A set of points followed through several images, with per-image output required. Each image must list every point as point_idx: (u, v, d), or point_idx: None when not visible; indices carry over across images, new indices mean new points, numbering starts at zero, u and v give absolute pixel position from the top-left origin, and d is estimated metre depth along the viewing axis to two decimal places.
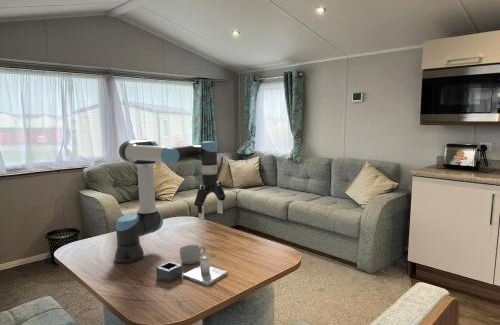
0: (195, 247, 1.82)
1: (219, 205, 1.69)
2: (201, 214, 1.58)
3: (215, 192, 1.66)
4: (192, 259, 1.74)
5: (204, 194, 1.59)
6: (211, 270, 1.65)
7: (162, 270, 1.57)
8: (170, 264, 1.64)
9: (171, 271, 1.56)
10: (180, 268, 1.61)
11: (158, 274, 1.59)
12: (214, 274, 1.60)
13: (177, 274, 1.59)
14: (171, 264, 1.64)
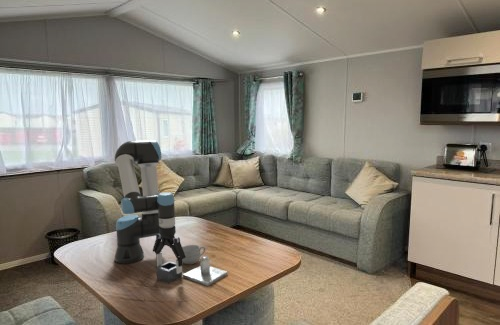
0: (195, 247, 1.82)
1: None
2: None
3: None
4: (192, 259, 1.74)
5: None
6: (211, 270, 1.65)
7: (162, 270, 1.57)
8: (170, 264, 1.64)
9: (171, 271, 1.56)
10: None
11: (158, 274, 1.59)
12: (214, 274, 1.60)
13: (177, 274, 1.59)
14: (171, 264, 1.64)
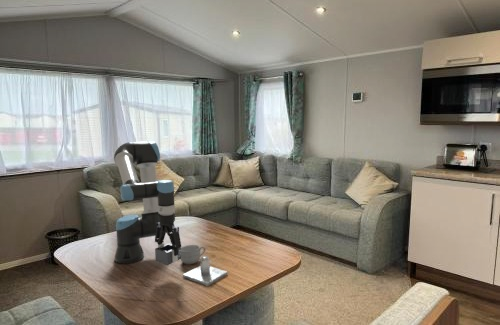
0: (195, 247, 1.82)
1: None
2: None
3: None
4: (192, 259, 1.74)
5: None
6: (211, 270, 1.65)
7: (161, 252, 1.56)
8: (169, 246, 1.63)
9: (170, 253, 1.55)
10: (179, 250, 1.60)
11: (157, 256, 1.58)
12: (214, 274, 1.60)
13: None
14: (170, 246, 1.63)
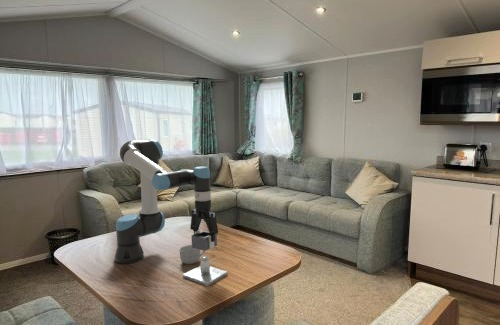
0: None
1: None
2: None
3: None
4: (192, 259, 1.74)
5: None
6: (211, 270, 1.65)
7: (198, 238, 1.56)
8: (204, 233, 1.63)
9: (207, 239, 1.56)
10: (215, 236, 1.60)
11: (193, 242, 1.58)
12: (214, 274, 1.60)
13: None
14: (205, 233, 1.63)
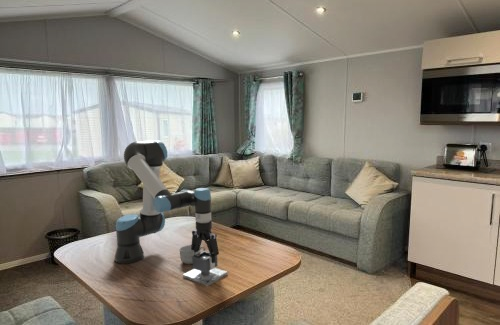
0: None
1: None
2: None
3: None
4: None
5: None
6: (211, 270, 1.65)
7: (199, 259, 1.58)
8: (205, 253, 1.65)
9: (208, 260, 1.57)
10: (216, 257, 1.61)
11: (194, 263, 1.60)
12: (214, 274, 1.60)
13: None
14: (206, 253, 1.64)
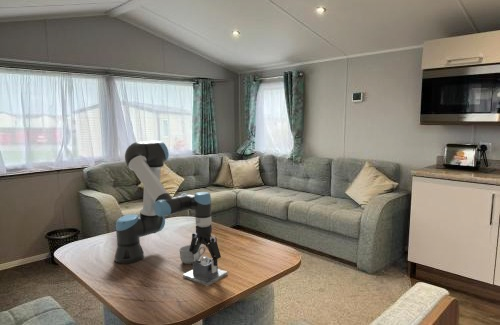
0: None
1: None
2: None
3: None
4: (192, 259, 1.74)
5: None
6: None
7: (199, 265, 1.58)
8: None
9: (208, 266, 1.57)
10: None
11: (194, 269, 1.60)
12: (214, 274, 1.60)
13: None
14: None
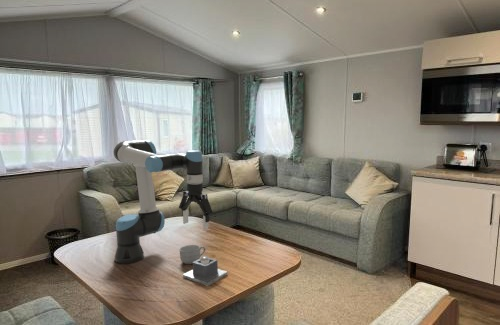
0: (195, 247, 1.82)
1: None
2: None
3: None
4: (192, 259, 1.74)
5: None
6: None
7: (199, 265, 1.58)
8: None
9: (208, 266, 1.57)
10: (216, 263, 1.62)
11: (194, 269, 1.60)
12: (214, 274, 1.60)
13: (213, 269, 1.60)
14: None
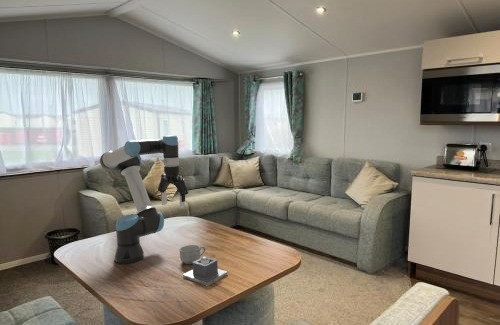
0: (195, 247, 1.82)
1: None
2: None
3: None
4: (192, 259, 1.74)
5: None
6: None
7: (199, 265, 1.58)
8: None
9: (208, 266, 1.57)
10: (216, 263, 1.62)
11: (194, 269, 1.60)
12: (214, 274, 1.60)
13: (213, 269, 1.60)
14: None
